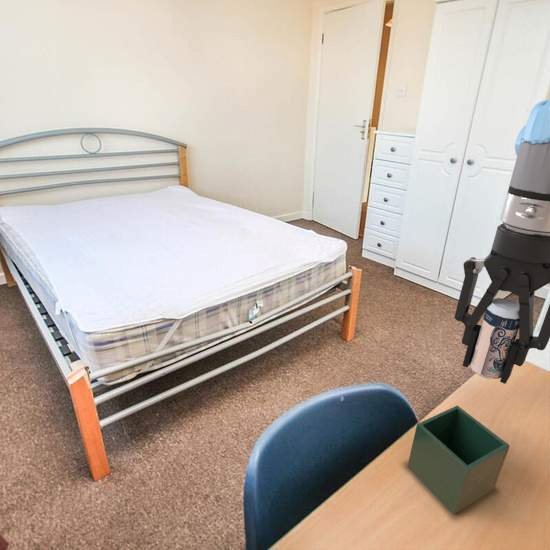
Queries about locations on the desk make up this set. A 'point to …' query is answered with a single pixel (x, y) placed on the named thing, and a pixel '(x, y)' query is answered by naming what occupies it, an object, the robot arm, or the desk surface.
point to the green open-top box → (456, 457)
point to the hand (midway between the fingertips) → (485, 370)
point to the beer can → (495, 338)
